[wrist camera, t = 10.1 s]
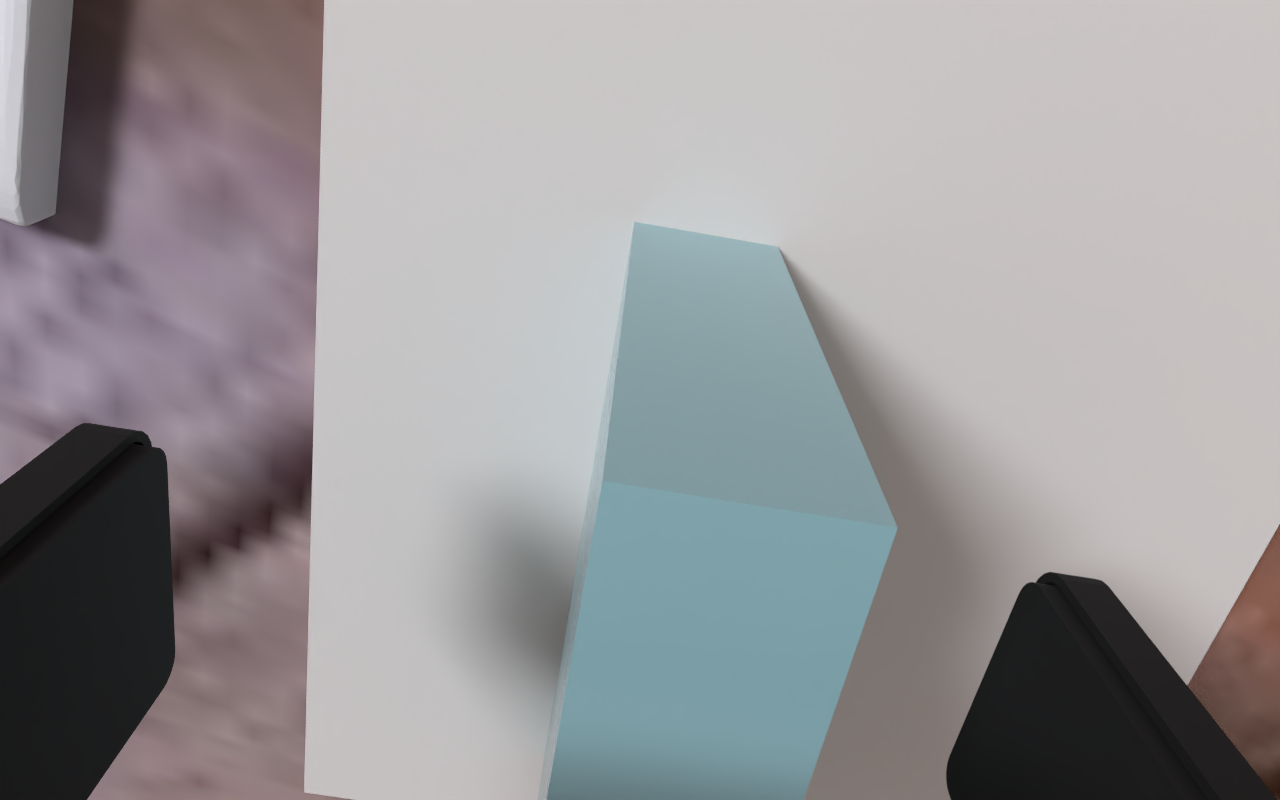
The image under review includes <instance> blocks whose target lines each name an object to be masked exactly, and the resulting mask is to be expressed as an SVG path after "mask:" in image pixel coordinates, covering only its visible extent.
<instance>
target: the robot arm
mask: <svg viewBox="0 0 1280 800" xmlns="http://www.w3.org/2000/svg"><path fill="white" fill-rule="evenodd" d="M174 658H175V635H174V612H173V589H172V566H171V543H170V520H169V497H168V474H167V460H166V455H165V453H164V451H163V450H162V449H160V448H155V447H152V445H151V441H150V439H149V437H148V435H146V434H145V433H144V432H142V431H136V430H129V429H123V428H116V427H110V426H103V425H97V424H91V423H83V424H81V425H79V426H77V427H75V428H74V429H72V430H71V431H70V432H69V433H67V434H66V435H65V436H63V437H62V438H61V439H59V440H58V441H57V442H55V443H54V444H53V445H51V446H50V447H49V448H48V449H46V450H45V451H44V452H42V453H41V454H40V455H38V456H37V457H36V458H34V459H33V460H32V461H31V462H29V463H28V464H27V465H25V466H24V467H23V468H21V469H20V470H19V471H17V472H16V473H15V474H14V475H12V476H11V477H10V478H8V479H7V480H6V481H4V482H3V483H2V484H0V800H87V798H88V797H89V796H90V794H91V793H92V791H93V790H94V788H95V787H96V785H97V784H98V783H99V781H100V780H101V778H102V777H103V775H104V774H105V772H106V771H107V769H108V768H109V767H110V765H111V764H112V762H113V761H114V759H115V758H116V756H117V755H118V754H119V752H120V751H121V749H122V748H123V746H124V745H125V743H126V742H127V740H128V739H129V738H130V736H131V735H132V733H133V732H134V730H135V729H136V727H137V726H138V725H139V723H140V722H141V720H142V719H143V717H144V716H145V714H146V713H147V711H148V710H149V709H150V707H151V706H152V704H153V703H154V701H155V700H156V698H157V697H158V696H159V694H160V693H161V691H162V690H163V688H164V686H165V685H166V683H167V681H168V679H169V676H170V674H171V671H172V667H173V663H174ZM946 782H947V789H948V792H949V796H950V798H951V800H1277V799H1276V798H1275V796H1274V795H1273V794H1272V793H1271V791H1270V790H1269V789H1268V788H1267V786H1266V785H1265V784H1264V782H1263V781H1262V780H1261V779H1260V777H1259V776H1258V775H1257V774H1256V772H1255V771H1254V770H1253V769H1252V767H1251V766H1250V765H1249V763H1248V762H1247V761H1246V760H1245V758H1244V757H1243V756H1242V755H1241V753H1240V752H1239V751H1238V750H1237V748H1236V747H1235V746H1234V744H1233V743H1232V742H1231V741H1230V739H1229V738H1228V737H1227V736H1226V734H1225V733H1224V732H1223V731H1222V729H1221V728H1220V727H1219V725H1218V724H1217V723H1216V722H1215V720H1214V719H1213V718H1212V717H1211V715H1210V714H1209V713H1208V712H1207V710H1206V709H1205V708H1204V706H1203V705H1202V704H1201V703H1200V701H1199V700H1198V699H1197V698H1196V696H1195V695H1194V694H1193V693H1192V691H1191V690H1190V689H1189V687H1188V686H1187V685H1186V684H1185V682H1184V681H1183V680H1182V679H1181V677H1180V676H1179V675H1178V674H1177V672H1176V671H1175V670H1174V668H1173V667H1172V666H1171V665H1170V663H1169V662H1168V661H1167V660H1166V658H1165V657H1164V656H1163V655H1162V653H1161V652H1160V651H1159V649H1158V648H1157V647H1156V646H1155V644H1154V643H1153V642H1152V641H1151V639H1150V638H1149V637H1148V636H1147V634H1146V633H1145V632H1144V630H1143V629H1142V628H1141V627H1140V625H1139V624H1138V623H1137V622H1136V620H1135V619H1134V618H1133V617H1132V615H1131V614H1130V613H1129V611H1128V610H1127V609H1126V608H1125V606H1124V605H1123V604H1122V603H1121V601H1120V600H1119V599H1118V598H1117V596H1116V595H1115V594H1114V592H1113V591H1112V590H1111V589H1110V587H1109V586H1108V585H1107V584H1105V583H1104V582H1103V581H1101V580H1098V579H1093V578H1086V577H1080V576H1074V575H1067V574H1061V573H1054V572H1048V573H1045V574H1043V575H1042V576H1041V577H1040V578H1039V579H1038V580H1037V581H1036V583H1034V582H1030V583H1027V584H1026V585H1025V586H1023V587H1022V589H1021V591H1020V593H1019V595H1018V597H1017V599H1016V602H1015V604H1014V606H1013V609H1012V611H1011V613H1010V616H1009V618H1008V620H1007V623H1006V625H1005V627H1004V630H1003V632H1002V634H1001V637H1000V639H999V641H998V644H997V646H996V648H995V651H994V653H993V655H992V658H991V660H990V662H989V665H988V667H987V669H986V672H985V674H984V676H983V679H982V681H981V683H980V686H979V688H978V690H977V693H976V695H975V697H974V700H973V702H972V704H971V707H970V709H969V711H968V714H967V716H966V718H965V721H964V723H963V726H962V728H961V730H960V733H959V735H958V737H957V740H956V742H955V744H954V747H953V749H952V751H951V754H950V756H949V759H948V762H947V769H946Z"/></svg>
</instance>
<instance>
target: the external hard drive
mask: <svg viewBox="0 0 1280 800" xmlns="http://www.w3.org/2000/svg"><path fill="white" fill-rule="evenodd" d="M73 1H74V0H0V219H2V220H5V221H8V222H11V223H13V224H16V225H19V226H28V225H31V224H33V223H36V222H39V221H41V220H43V219H46V218H48V217H50V216H53V215H55V214H56V203H57V189H58V176H59V164H60V152H61V141H62V129H63V118H64V106H65V95H66V83H67V72H68V60H69V49H70V37H71V25H72V13H73Z"/></svg>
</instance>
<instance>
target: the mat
mask: <svg viewBox="0 0 1280 800" xmlns="http://www.w3.org/2000/svg"><path fill="white" fill-rule="evenodd" d="M634 222H639V223H645V224H650V225H656V226H662V227H668V228H673V229H679V230H685V231H691V232H696V233H702V234H708V235H714V236H719V237H725V238H731V239H737V240H742V241H748V242H754V243H760V244H765V245H771V246H777V247H778V248H779V251H780V253H781V255H782V258H783V260H784V262H785V265H786V267H787V269H788V272H789V274H790V276H791V279H792V281H793V283H794V286H795V288H796V291H797V293H798V295H799V298H800V300H801V302H802V305H803V307H804V309H805V312H806V314H807V316H808V319H809V321H810V323H811V326H812V328H813V330H814V333H815V335H816V337H817V340H818V342H819V344H820V347H821V349H822V351H823V354H824V356H825V358H826V361H827V363H828V365H829V368H830V370H831V373H832V375H833V377H834V380H835V382H836V384H837V387H838V389H839V391H840V394H841V396H842V398H843V401H844V403H845V405H846V408H847V410H848V412H849V415H850V417H851V419H852V422H853V424H854V426H855V429H856V431H857V433H858V436H859V438H860V440H861V443H862V445H863V447H864V450H865V452H866V455H867V457H868V459H869V462H870V464H871V466H872V469H873V471H874V473H875V476H876V478H877V480H878V483H879V485H880V487H881V490H882V492H883V494H884V497H885V499H886V501H887V504H888V506H889V508H890V511H891V513H892V515H893V518H894V520H895V522H896V525H897V527H898V529H897V532H896V535H895V538H894V540H893V543H892V546H891V549H890V552H889V555H888V558H887V561H886V564H885V566H884V569H883V572H882V575H881V578H880V581H879V584H878V587H877V590H876V592H875V595H874V598H873V601H872V604H871V607H870V610H869V613H868V616H867V618H866V621H865V624H864V627H863V630H862V633H861V636H860V639H859V642H858V644H857V647H856V650H855V653H854V656H853V659H852V662H851V665H850V667H849V670H848V673H847V676H846V679H845V682H844V685H843V688H842V691H841V693H840V696H839V699H838V702H837V705H836V708H835V711H834V714H833V717H832V719H831V722H830V725H829V728H828V731H827V734H826V737H825V740H824V743H823V745H822V748H821V751H820V754H819V757H818V760H817V763H816V766H815V769H814V771H813V774H812V777H811V780H810V783H809V786H808V789H807V792H806V794H805V797H804V800H951V798H950V796H949V792H948V789H947V782H946V769H947V762H948V759H949V756H950V754H951V751H952V749H953V747H954V744H955V742H956V740H957V737H958V735H959V733H960V730H961V728H962V726H963V723H964V721H965V718H966V716H967V714H968V711H969V709H970V707H971V704H972V702H973V700H974V697H975V695H976V693H977V690H978V688H979V686H980V683H981V681H982V679H983V676H984V674H985V672H986V669H987V667H988V665H989V662H990V660H991V658H992V655H993V653H994V651H995V648H996V646H997V644H998V641H999V639H1000V637H1001V634H1002V632H1003V630H1004V627H1005V625H1006V623H1007V620H1008V618H1009V616H1010V613H1011V611H1012V609H1013V606H1014V604H1015V602H1016V599H1017V597H1018V595H1019V593H1020V591H1021V589H1022V587H1023V586H1025V585H1026V584H1027V583H1030V582H1034V583H1036V581H1037V580H1038V579H1039V578H1040V577H1041V576H1042V575H1043V574H1045V573H1048V572H1054V573H1061V574H1067V575H1074V576H1080V577H1086V578H1093V579H1098V580H1101V581H1103V582H1104V583H1105V584H1107V585H1108V586H1109V587H1110V589H1111V590H1112V591H1113V592H1114V594H1115V595H1116V596H1117V598H1118V599H1119V600H1120V601H1121V603H1122V604H1123V605H1124V606H1125V608H1126V609H1127V610H1128V611H1129V613H1130V614H1131V615H1132V617H1133V618H1134V619H1135V620H1136V622H1137V623H1138V624H1139V625H1140V627H1141V628H1142V629H1143V630H1144V632H1145V633H1146V634H1147V636H1148V637H1149V638H1150V639H1151V641H1152V642H1153V643H1154V644H1155V646H1156V647H1157V648H1158V649H1159V651H1160V652H1161V653H1162V655H1163V656H1164V657H1165V658H1166V660H1167V661H1168V662H1169V663H1170V665H1171V666H1172V667H1173V668H1174V670H1175V671H1176V672H1177V674H1178V675H1179V676H1180V677H1181V679H1182V680H1183V681H1184V682H1185V684H1186V685H1188V684H1189V682H1190V680H1191V678H1192V677H1193V675H1194V673H1195V671H1196V670H1197V668H1198V666H1199V664H1200V663H1201V661H1202V659H1203V657H1204V656H1205V654H1206V652H1207V650H1208V649H1209V647H1210V645H1211V643H1212V642H1213V640H1214V638H1215V636H1216V635H1217V633H1218V631H1219V629H1220V628H1221V626H1222V624H1223V622H1224V621H1225V619H1226V617H1227V615H1228V614H1229V612H1230V610H1231V608H1232V607H1233V605H1234V603H1235V601H1236V600H1237V598H1238V596H1239V594H1240V593H1241V591H1242V589H1243V587H1244V586H1245V584H1246V582H1247V580H1248V578H1249V577H1250V575H1251V573H1252V571H1253V570H1254V568H1255V566H1256V564H1257V563H1258V561H1259V559H1260V557H1261V556H1262V554H1263V552H1264V550H1265V549H1266V547H1267V545H1268V543H1269V542H1270V540H1271V538H1272V536H1273V535H1274V533H1275V531H1276V529H1277V528H1278V526H1279V524H1280V0H324V37H323V76H322V116H321V155H320V194H319V233H318V272H317V311H316V351H315V390H314V429H313V468H312V507H311V547H310V586H309V625H308V664H307V703H306V743H305V782H304V792H306V793H313V794H320V795H326V796H333V797H340V798H347V799H354V800H537V799H538V793H539V786H540V780H541V773H542V767H543V760H544V754H545V748H546V742H547V736H548V730H549V724H550V718H551V713H552V707H553V701H554V695H555V689H556V683H557V677H558V671H559V665H560V659H561V653H562V647H563V641H564V635H565V630H566V624H567V618H568V612H569V606H570V600H571V594H572V588H573V582H574V576H575V570H576V564H577V558H578V552H579V547H580V541H581V535H582V529H583V523H584V517H585V511H586V505H587V499H588V493H589V487H590V481H591V475H592V469H593V464H594V458H595V452H596V446H597V440H598V434H599V428H600V422H601V416H602V410H603V404H604V398H605V392H606V386H607V381H608V375H609V369H610V363H611V357H612V351H613V345H614V339H615V333H616V327H617V321H618V315H619V309H620V303H621V298H622V292H623V286H624V280H625V274H626V268H627V262H628V256H629V250H630V244H631V238H632V232H633V226H634Z"/></svg>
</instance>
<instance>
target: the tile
mask: <svg viewBox="0 0 1280 800" xmlns="http://www.w3.org/2000/svg"><path fill="white" fill-rule="evenodd" d="M897 529H898V527H897V525H896V522H895V520H894V518H893V515H892V513H891V511H890V508H889V506H888V504H887V501H886V499H885V497H884V494H883V492H882V490H881V487H880V485H879V483H878V480H877V478H876V476H875V473H874V471H873V469H872V466H871V464H870V462H869V459H868V457H867V455H866V452H865V450H864V447H863V445H862V443H861V440H860V438H859V436H858V433H857V431H856V429H855V426H854V424H853V422H852V419H851V417H850V415H849V412H848V410H847V408H846V405H845V403H844V401H843V398H842V396H841V394H840V391H839V389H838V387H837V384H836V382H835V380H834V377H833V375H832V373H831V370H830V368H829V365H828V363H827V361H826V358H825V356H824V354H823V351H822V349H821V347H820V344H819V342H818V340H817V337H816V335H815V333H814V330H813V328H812V326H811V323H810V321H809V319H808V316H807V314H806V312H805V309H804V307H803V305H802V302H801V300H800V298H799V295H798V293H797V291H796V288H795V286H794V283H793V281H792V279H791V276H790V274H789V272H788V269H787V267H786V265H785V262H784V260H783V258H782V255H781V253H780V251H779V248H778V247H777V246H771V245H765V244H760V243H754V242H748V241H742V240H737V239H731V238H725V237H719V236H714V235H708V234H702V233H696V232H691V231H685V230H679V229H673V228H668V227H662V226H656V225H650V224H645V223H639V222H634V226H633V232H632V238H631V244H630V250H629V256H628V262H627V268H626V274H625V280H624V286H623V292H622V298H621V303H620V309H619V315H618V321H617V327H616V333H615V339H614V345H613V351H612V357H611V363H610V369H609V375H608V381H607V386H606V392H605V398H604V404H603V410H602V416H601V422H600V428H599V434H598V440H597V446H596V452H595V458H594V464H593V469H592V475H591V481H590V487H589V493H588V499H587V505H586V511H585V517H584V523H583V529H582V535H581V541H580V547H579V552H578V558H577V564H576V570H575V576H574V582H573V588H572V594H571V600H570V606H569V612H568V618H567V624H566V630H565V635H564V641H563V647H562V653H561V659H560V665H559V671H558V677H557V683H556V689H555V695H554V701H553V707H552V713H551V718H550V724H549V730H548V736H547V742H546V748H545V754H544V760H543V767H542V773H541V780H540V786H539V793H538V799H537V800H804V797H805V794H806V792H807V789H808V786H809V783H810V780H811V777H812V774H813V771H814V769H815V766H816V763H817V760H818V757H819V754H820V751H821V748H822V745H823V743H824V740H825V737H826V734H827V731H828V728H829V725H830V722H831V719H832V717H833V714H834V711H835V708H836V705H837V702H838V699H839V696H840V693H841V691H842V688H843V685H844V682H845V679H846V676H847V673H848V670H849V667H850V665H851V662H852V659H853V656H854V653H855V650H856V647H857V644H858V642H859V639H860V636H861V633H862V630H863V627H864V624H865V621H866V618H867V616H868V613H869V610H870V607H871V604H872V601H873V598H874V595H875V592H876V590H877V587H878V584H879V581H880V578H881V575H882V572H883V569H884V566H885V564H886V561H887V558H888V555H889V552H890V549H891V546H892V543H893V540H894V538H895V535H896V532H897Z"/></svg>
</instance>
